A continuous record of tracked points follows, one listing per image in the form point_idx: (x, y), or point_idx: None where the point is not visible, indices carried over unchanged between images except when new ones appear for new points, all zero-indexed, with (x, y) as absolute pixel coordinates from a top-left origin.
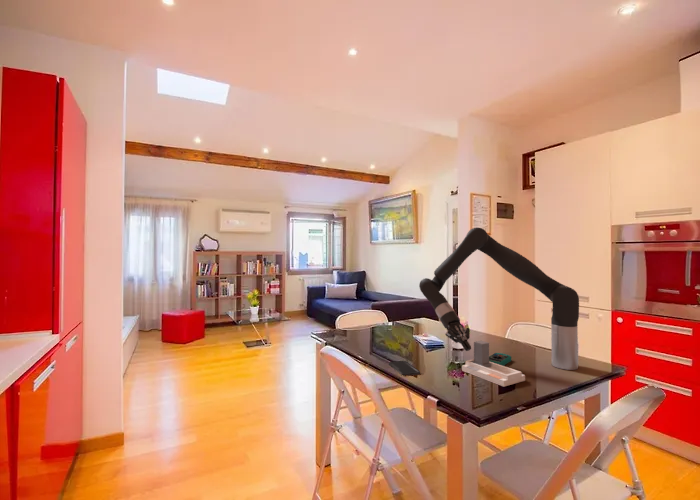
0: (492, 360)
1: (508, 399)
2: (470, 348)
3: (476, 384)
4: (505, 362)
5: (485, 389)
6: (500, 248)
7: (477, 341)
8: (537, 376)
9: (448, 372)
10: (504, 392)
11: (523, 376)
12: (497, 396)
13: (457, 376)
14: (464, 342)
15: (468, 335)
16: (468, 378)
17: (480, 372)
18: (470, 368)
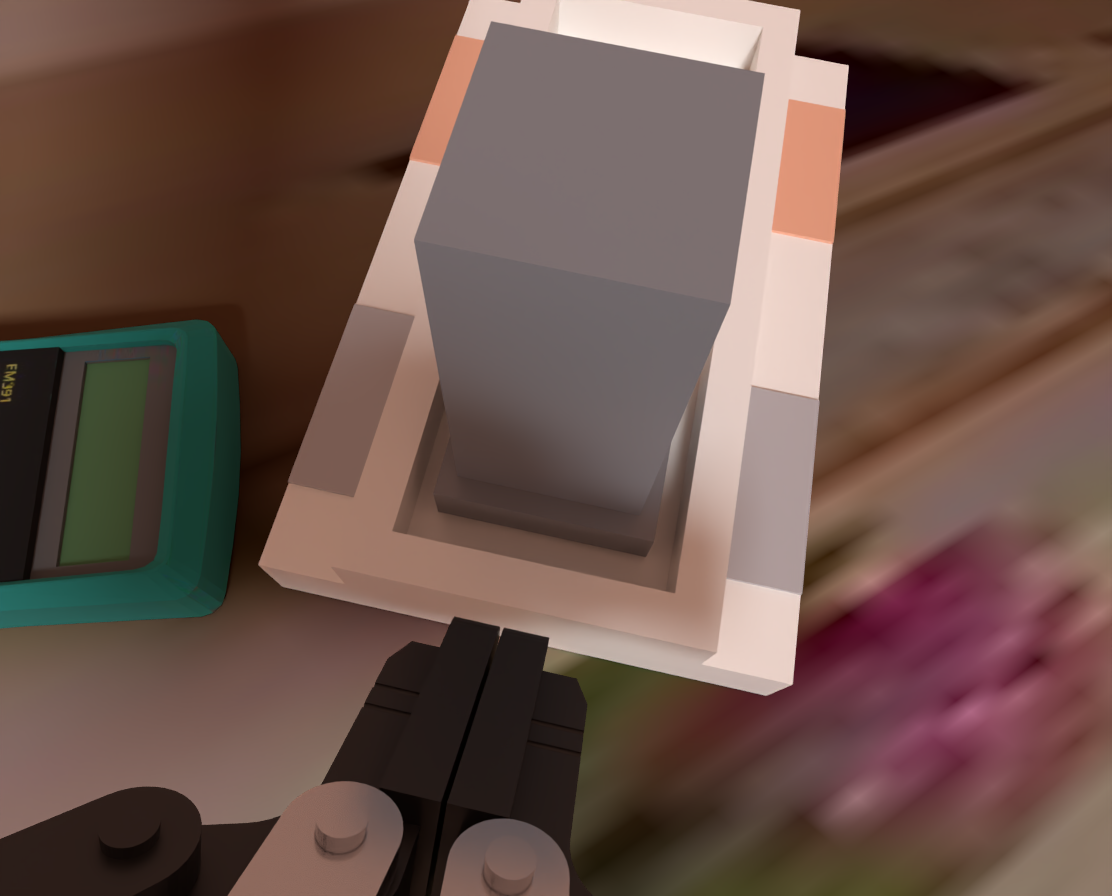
0: (69, 484)
1: (1050, 6)
2: (484, 626)
3: (1028, 308)
4: None
5: (1053, 195)
6: None
7: (597, 255)
8: (238, 13)
9: (1030, 801)
10: (947, 69)
11: (501, 9)
12: (1085, 75)
13: (1033, 599)
14: (515, 803)
15: (5, 885)
16: (955, 459)
17: (822, 335)
18: (810, 499)
